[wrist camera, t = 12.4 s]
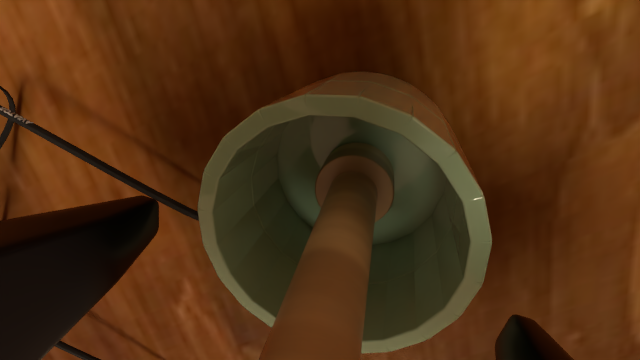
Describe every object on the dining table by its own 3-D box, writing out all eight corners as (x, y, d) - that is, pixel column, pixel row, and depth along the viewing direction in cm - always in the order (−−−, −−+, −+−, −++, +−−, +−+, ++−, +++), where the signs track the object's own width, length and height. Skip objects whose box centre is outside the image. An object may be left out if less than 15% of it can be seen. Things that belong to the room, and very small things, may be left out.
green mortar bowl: (474, 233, 15) (512, 347, 9) (304, 257, 17) (257, 358, 12) (435, 41, 12) (457, 45, 7) (245, 103, 15) (152, 142, 9)
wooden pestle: (401, 200, 14) (420, 658, 4) (334, 214, 15) (202, 614, 5) (383, 133, 13) (344, 504, 3) (313, 152, 14) (89, 486, 4)
